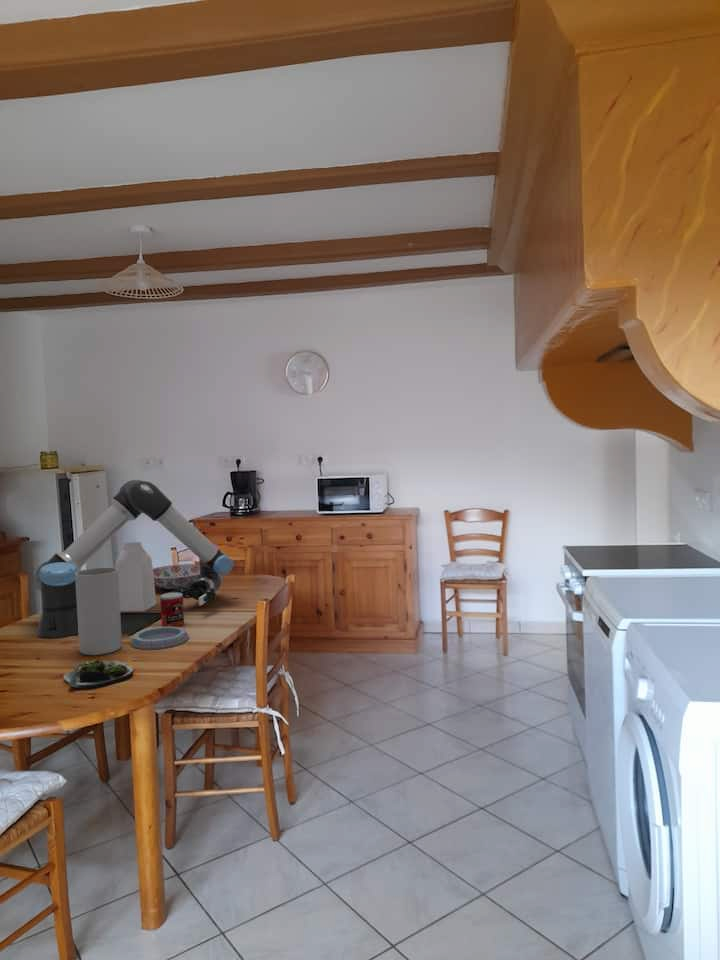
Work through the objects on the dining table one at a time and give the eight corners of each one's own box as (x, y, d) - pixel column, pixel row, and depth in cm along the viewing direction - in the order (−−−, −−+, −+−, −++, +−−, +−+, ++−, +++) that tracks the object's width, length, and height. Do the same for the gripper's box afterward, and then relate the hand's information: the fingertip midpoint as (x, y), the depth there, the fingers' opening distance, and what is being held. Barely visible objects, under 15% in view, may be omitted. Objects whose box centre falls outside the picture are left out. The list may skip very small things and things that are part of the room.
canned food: (167, 630, 231) (165, 598, 230) (158, 625, 237) (156, 594, 236) (188, 625, 235) (186, 594, 235) (178, 621, 242) (176, 591, 241)
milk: (156, 603, 269) (153, 540, 268) (144, 611, 258) (140, 544, 256) (127, 604, 270) (124, 540, 269) (114, 611, 259) (111, 545, 257)
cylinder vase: (128, 643, 216) (123, 567, 215) (112, 655, 204) (108, 574, 202) (89, 644, 217) (85, 568, 215) (72, 656, 204) (67, 576, 203)
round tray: (146, 653, 205) (146, 645, 205) (121, 642, 218) (121, 634, 218) (198, 640, 217) (198, 632, 217) (172, 629, 230) (171, 622, 230)
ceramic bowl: (158, 599, 277) (157, 580, 277) (135, 587, 301) (134, 570, 300) (223, 588, 295) (222, 570, 294) (196, 578, 318) (196, 561, 318)
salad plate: (49, 678, 187) (48, 661, 187) (112, 661, 199) (111, 646, 199) (74, 696, 173) (73, 678, 172) (140, 677, 185) (139, 661, 185)
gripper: (232, 597, 264) (215, 611, 243) (172, 598, 267) (149, 612, 246) (231, 579, 263) (214, 591, 242) (171, 579, 266) (148, 591, 245)
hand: (181, 601), depth 244 cm, fingers open, 13 cm apart
